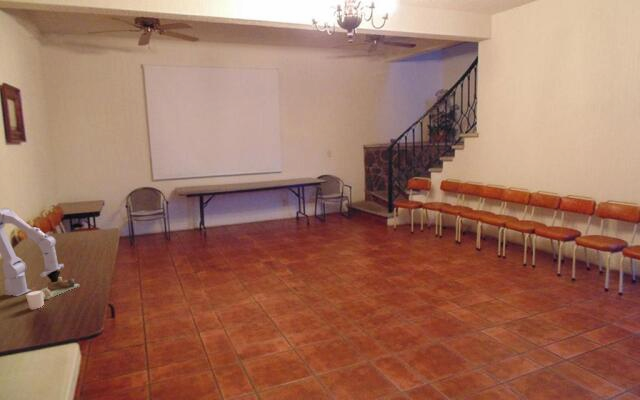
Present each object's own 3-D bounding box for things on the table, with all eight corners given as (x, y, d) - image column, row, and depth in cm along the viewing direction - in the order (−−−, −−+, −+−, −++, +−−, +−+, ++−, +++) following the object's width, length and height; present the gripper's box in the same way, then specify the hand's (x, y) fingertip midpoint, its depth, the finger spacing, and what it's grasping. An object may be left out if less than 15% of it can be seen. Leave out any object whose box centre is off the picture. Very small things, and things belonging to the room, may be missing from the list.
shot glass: (42, 302, 212) (39, 289, 211) (47, 305, 208) (45, 291, 207) (26, 308, 207) (23, 293, 206) (31, 311, 203) (28, 296, 201)
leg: (75, 284, 231) (74, 278, 231) (74, 286, 228) (73, 280, 228) (49, 288, 227) (48, 282, 227) (47, 290, 225) (46, 284, 224)
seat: (28, 297, 221) (26, 289, 220) (60, 284, 238) (59, 276, 237) (48, 299, 216) (46, 291, 215) (80, 286, 232) (79, 278, 232)
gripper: (47, 264, 219) (52, 290, 221) (67, 255, 233) (71, 280, 235) (34, 265, 220) (39, 290, 222) (54, 256, 234) (59, 280, 236)
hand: (55, 285), depth 229 cm, fingers closed, pressing on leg
